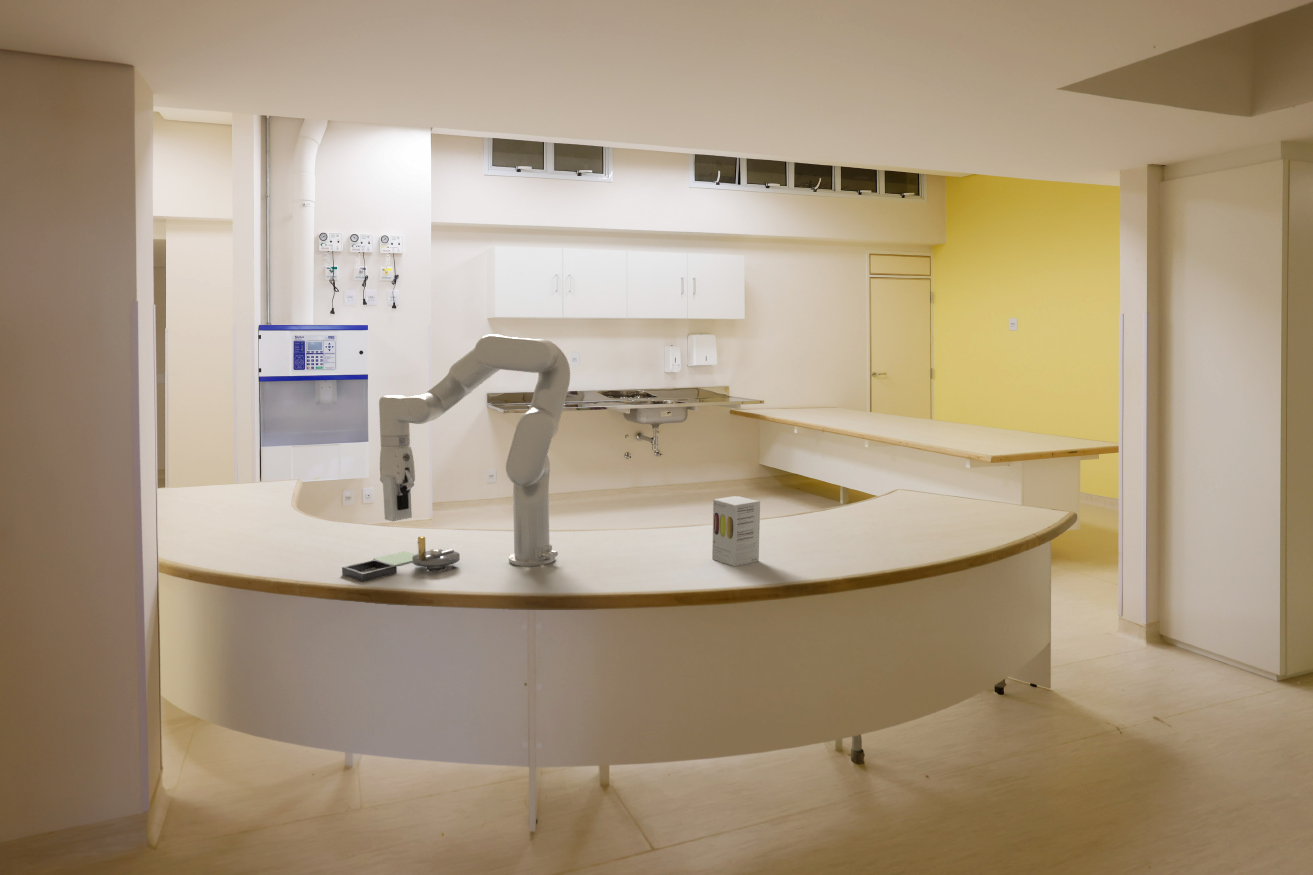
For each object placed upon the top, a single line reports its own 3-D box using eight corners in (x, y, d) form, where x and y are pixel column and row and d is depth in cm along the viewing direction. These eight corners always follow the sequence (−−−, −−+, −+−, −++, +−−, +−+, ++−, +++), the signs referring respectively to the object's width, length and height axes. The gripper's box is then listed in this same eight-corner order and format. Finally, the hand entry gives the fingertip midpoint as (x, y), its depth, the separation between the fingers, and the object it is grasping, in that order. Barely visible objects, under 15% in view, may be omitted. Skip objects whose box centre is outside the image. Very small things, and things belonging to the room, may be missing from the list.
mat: (426, 558, 226) (426, 557, 226) (394, 566, 219) (394, 565, 219) (404, 552, 233) (404, 551, 233) (373, 560, 225) (373, 558, 225)
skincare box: (403, 515, 228) (401, 472, 226) (412, 517, 225) (410, 474, 224) (383, 519, 223) (381, 475, 222) (392, 521, 221) (391, 477, 219)
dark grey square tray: (396, 573, 213) (396, 565, 212) (363, 581, 205) (362, 574, 205) (375, 566, 219) (375, 559, 218) (342, 574, 211) (342, 567, 211)
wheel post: (450, 567, 217) (449, 560, 217) (434, 572, 214) (434, 564, 213) (438, 564, 221) (438, 557, 220) (422, 568, 217) (422, 561, 216)
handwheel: (438, 552, 225) (438, 526, 224) (469, 558, 218) (468, 532, 217) (402, 561, 215) (401, 535, 214) (433, 569, 209) (432, 541, 208)
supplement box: (711, 559, 226) (711, 498, 224) (735, 553, 231) (736, 494, 229) (734, 567, 218) (735, 504, 216) (760, 561, 224) (761, 500, 222)
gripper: (425, 442, 219) (428, 510, 222) (389, 437, 230) (391, 501, 232) (401, 445, 213) (403, 514, 216) (365, 440, 224) (367, 506, 226)
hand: (397, 507), depth 224 cm, fingers closed on skincare box, 4 cm apart
